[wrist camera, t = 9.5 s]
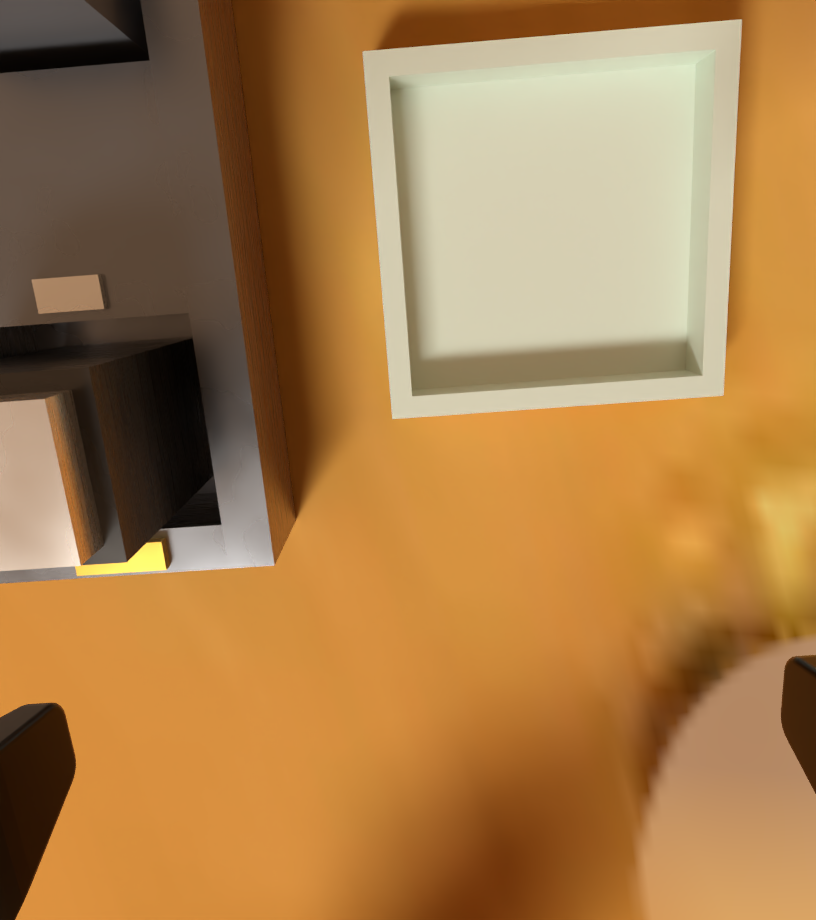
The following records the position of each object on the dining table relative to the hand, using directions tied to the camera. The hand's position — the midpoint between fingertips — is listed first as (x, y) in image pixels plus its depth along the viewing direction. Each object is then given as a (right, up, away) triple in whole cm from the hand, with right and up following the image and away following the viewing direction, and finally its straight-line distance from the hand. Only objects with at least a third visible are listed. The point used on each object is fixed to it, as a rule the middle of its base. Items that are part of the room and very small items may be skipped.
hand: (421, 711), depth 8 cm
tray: (+4, +9, +11) cm, 15 cm away
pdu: (-9, +11, +11) cm, 17 cm away
